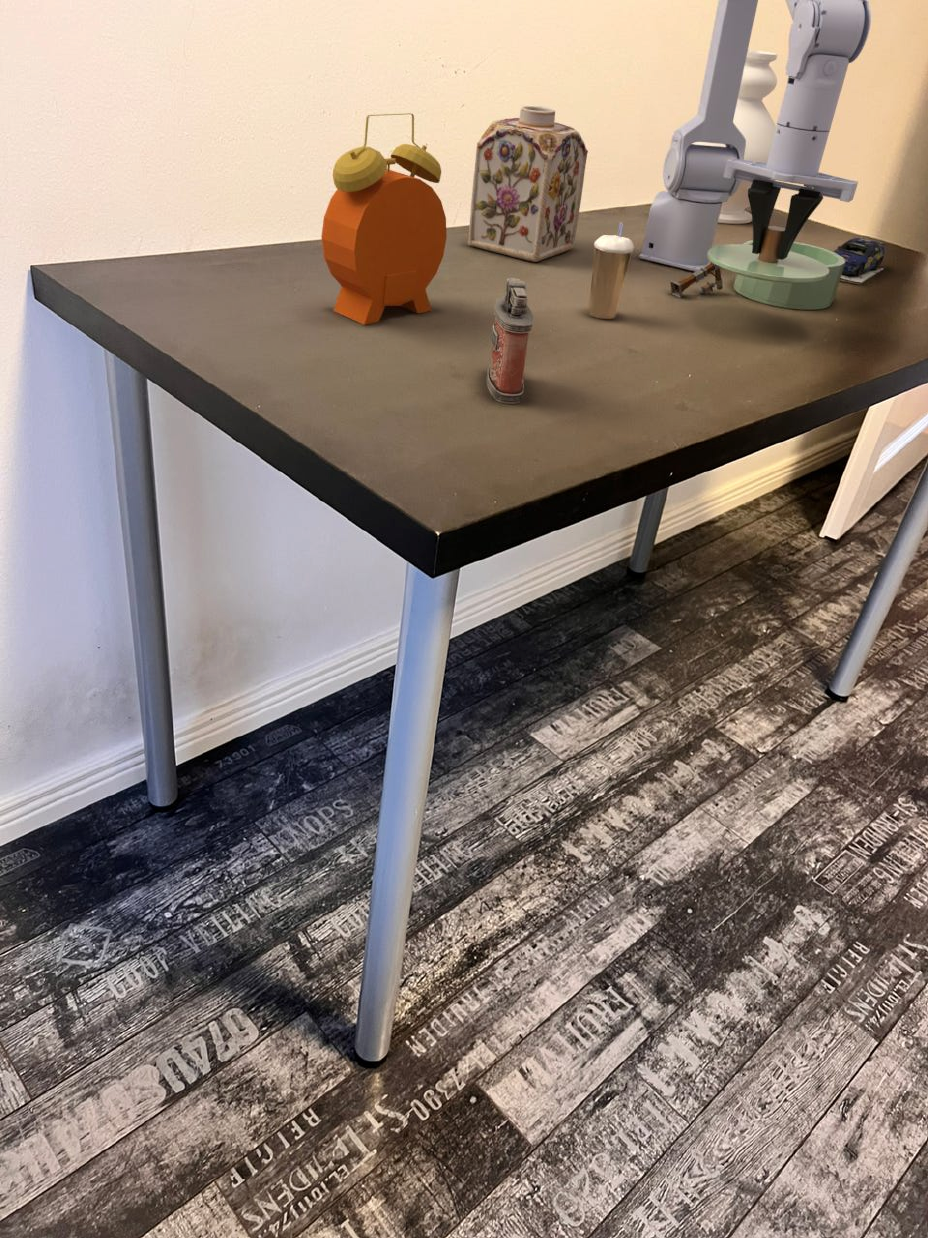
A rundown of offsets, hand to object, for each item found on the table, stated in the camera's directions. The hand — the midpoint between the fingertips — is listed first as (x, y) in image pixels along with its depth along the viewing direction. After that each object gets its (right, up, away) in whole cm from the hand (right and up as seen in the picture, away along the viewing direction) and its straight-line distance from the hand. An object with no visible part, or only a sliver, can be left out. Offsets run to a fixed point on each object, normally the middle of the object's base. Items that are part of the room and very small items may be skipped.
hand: (769, 254), depth 112 cm
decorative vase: (+9, +29, +56) cm, 64 cm away
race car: (+22, +9, +31) cm, 40 cm away
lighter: (-32, -20, -19) cm, 43 cm away
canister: (+7, +1, +17) cm, 19 cm away
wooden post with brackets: (-6, 0, +14) cm, 15 cm away
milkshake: (-19, -6, +3) cm, 20 cm away
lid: (0, -1, +1) cm, 1 cm away
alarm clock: (-45, -8, -4) cm, 46 cm away
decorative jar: (-28, +10, +25) cm, 39 cm away
